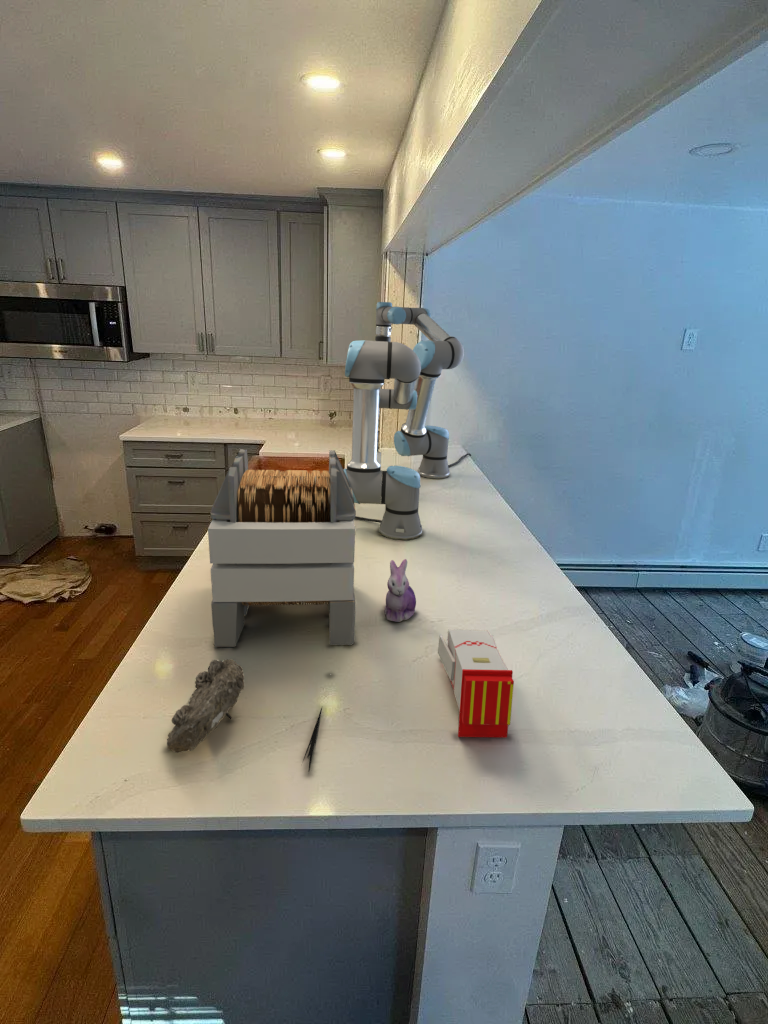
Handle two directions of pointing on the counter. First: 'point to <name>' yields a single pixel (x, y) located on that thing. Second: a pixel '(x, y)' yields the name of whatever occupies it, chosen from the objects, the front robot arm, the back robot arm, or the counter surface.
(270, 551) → the transformer
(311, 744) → the feather
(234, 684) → the fossil
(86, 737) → the counter surface
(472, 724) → the toy
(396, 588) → the figurine
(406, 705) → the counter surface
